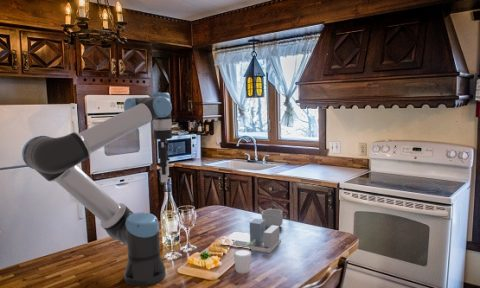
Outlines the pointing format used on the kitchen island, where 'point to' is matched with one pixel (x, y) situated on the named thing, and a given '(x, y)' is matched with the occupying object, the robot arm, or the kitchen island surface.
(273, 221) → the teacup
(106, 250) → the kitchen island surface
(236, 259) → the white cylinder
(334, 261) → the kitchen island surface
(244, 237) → the board
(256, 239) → the block
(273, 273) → the kitchen island surface
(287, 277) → the kitchen island surface
